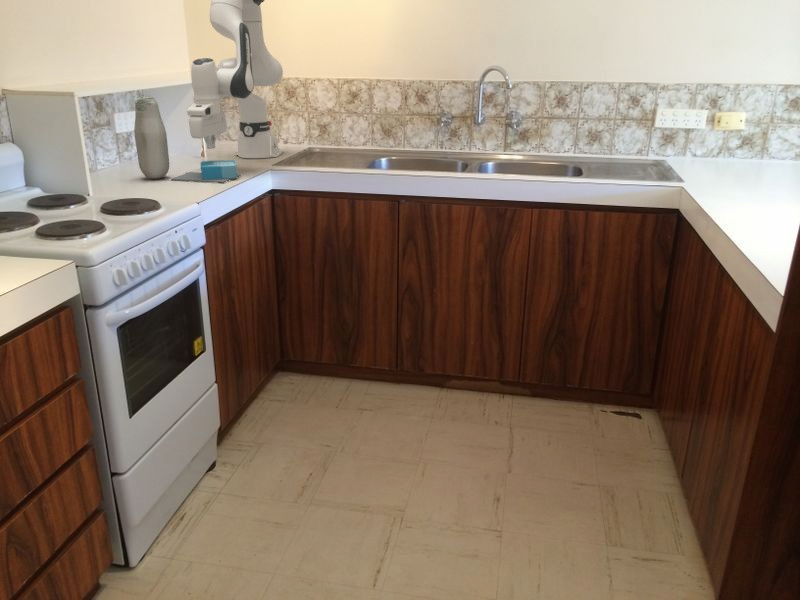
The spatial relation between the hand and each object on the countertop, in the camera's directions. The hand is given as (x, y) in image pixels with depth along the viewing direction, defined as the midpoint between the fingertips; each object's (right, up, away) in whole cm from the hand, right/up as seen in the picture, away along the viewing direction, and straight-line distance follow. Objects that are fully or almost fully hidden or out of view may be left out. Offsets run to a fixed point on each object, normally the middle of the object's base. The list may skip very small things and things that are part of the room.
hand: (211, 148), depth 239 cm
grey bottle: (-19, -11, -2) cm, 22 cm away
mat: (-1, -11, -1) cm, 11 cm away
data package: (+1, -6, +4) cm, 7 cm away
